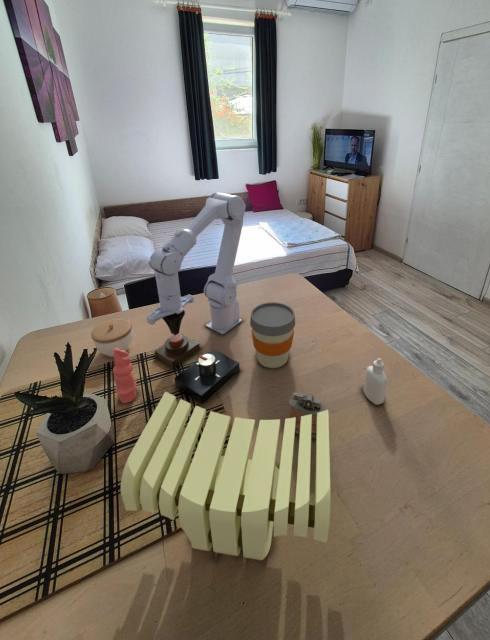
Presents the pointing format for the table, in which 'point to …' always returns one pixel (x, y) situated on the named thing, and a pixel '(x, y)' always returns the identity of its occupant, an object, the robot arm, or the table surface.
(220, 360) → the panel
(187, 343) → the button block
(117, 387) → the figurine
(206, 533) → the slatted curved stool
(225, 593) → the table surface
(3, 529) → the table surface
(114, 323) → the trinket box
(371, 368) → the eye dropper bottle
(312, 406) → the lighter
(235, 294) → the robot arm
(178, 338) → the button
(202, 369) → the dial
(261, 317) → the reusable coffee cup
